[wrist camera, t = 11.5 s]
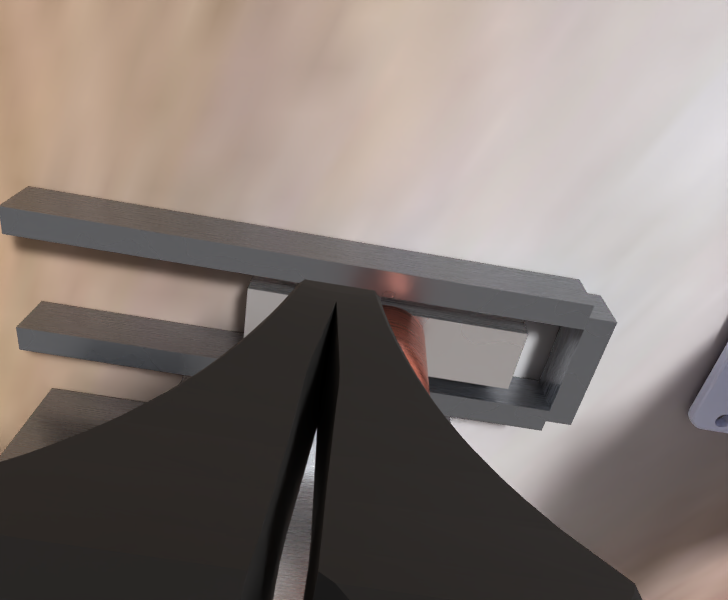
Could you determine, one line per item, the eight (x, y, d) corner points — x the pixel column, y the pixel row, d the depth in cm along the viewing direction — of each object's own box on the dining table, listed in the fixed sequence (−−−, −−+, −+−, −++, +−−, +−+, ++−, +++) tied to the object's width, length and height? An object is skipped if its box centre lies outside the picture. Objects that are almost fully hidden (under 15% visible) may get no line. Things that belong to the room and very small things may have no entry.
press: (605, 284, 18) (704, 438, 12) (475, 589, 25) (500, 773, 20) (28, 186, 17) (-151, 303, 11) (69, 532, 24) (-27, 707, 19)
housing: (375, 474, 21) (371, 654, 15) (355, 558, 23) (344, 739, 18) (245, 455, 21) (194, 630, 15) (237, 541, 23) (191, 720, 17)
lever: (522, 307, 18) (565, 425, 14) (499, 370, 19) (533, 497, 15) (256, 262, 18) (211, 369, 13) (250, 330, 19) (207, 449, 14)
